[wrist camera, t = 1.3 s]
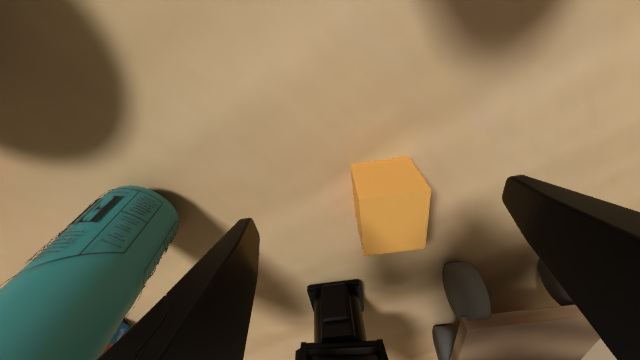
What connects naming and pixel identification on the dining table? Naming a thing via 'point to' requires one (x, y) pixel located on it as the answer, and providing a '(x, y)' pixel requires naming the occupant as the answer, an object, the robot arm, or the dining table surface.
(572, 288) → the robot arm
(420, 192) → the block
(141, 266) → the beverage bottle
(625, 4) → the dining table surface
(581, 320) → the trolley
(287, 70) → the dining table surface
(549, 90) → the dining table surface
